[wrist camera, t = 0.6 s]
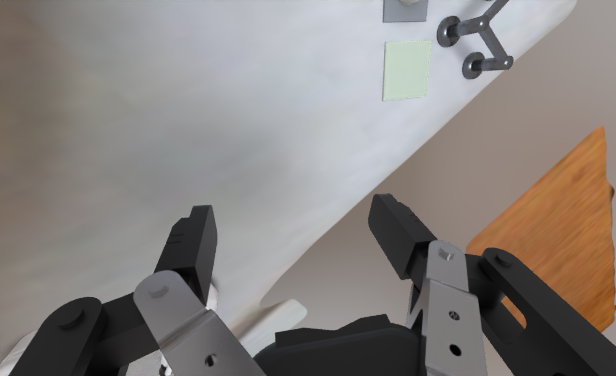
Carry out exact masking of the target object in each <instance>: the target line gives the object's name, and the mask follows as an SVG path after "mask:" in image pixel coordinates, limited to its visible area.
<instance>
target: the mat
mask: <svg viewBox="0 0 616 376" xmlns="http://www.w3.org/2000/svg"><path fill="white" fill-rule="evenodd" d="M427 6H428V0H421V1H418V2H416V3H414V4H412V5H410V6H404V5H402V4H401V3H400V2H399V0H384V7H383V22H420V21H426V16H427Z"/></svg>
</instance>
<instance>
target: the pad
mask: <svg viewBox="0 0 616 376" xmlns="http://www.w3.org/2000/svg"><path fill="white" fill-rule="evenodd" d="M431 47H432V40H427V41H404V42H386V43H385V55H384V77H383V99H382V101H387V100H396V99H405V98H414V97H424V96H426V92H427V83H428V74H429V65H430V56H431Z"/></svg>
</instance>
